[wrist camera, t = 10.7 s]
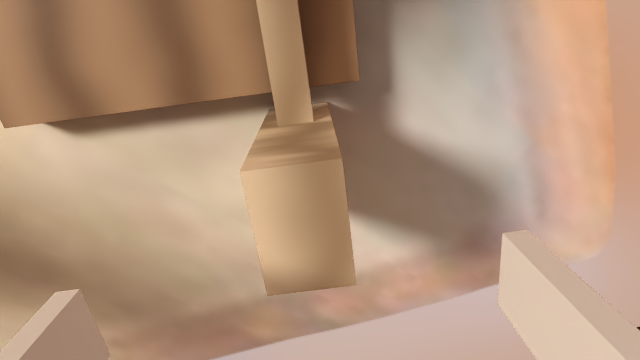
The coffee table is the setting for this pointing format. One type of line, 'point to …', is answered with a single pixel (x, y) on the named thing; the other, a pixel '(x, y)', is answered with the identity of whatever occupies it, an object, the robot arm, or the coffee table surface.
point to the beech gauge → (296, 172)
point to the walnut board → (151, 54)
